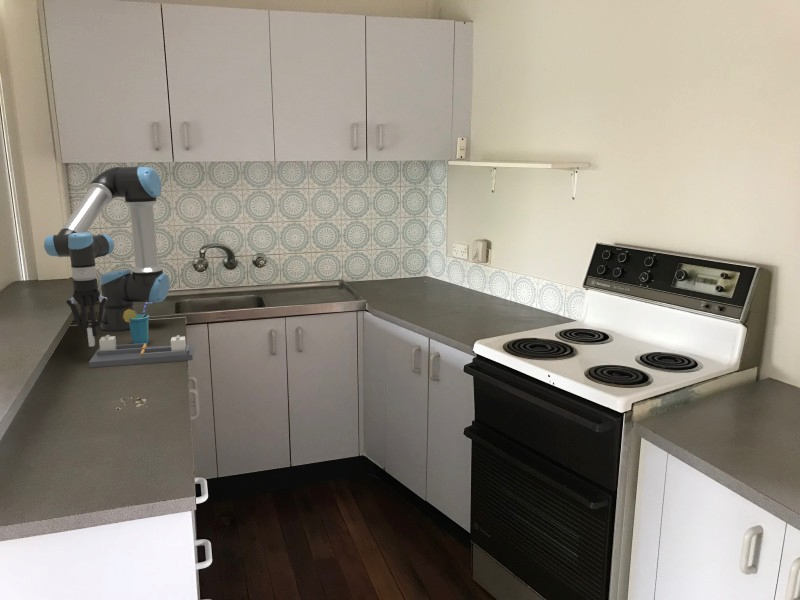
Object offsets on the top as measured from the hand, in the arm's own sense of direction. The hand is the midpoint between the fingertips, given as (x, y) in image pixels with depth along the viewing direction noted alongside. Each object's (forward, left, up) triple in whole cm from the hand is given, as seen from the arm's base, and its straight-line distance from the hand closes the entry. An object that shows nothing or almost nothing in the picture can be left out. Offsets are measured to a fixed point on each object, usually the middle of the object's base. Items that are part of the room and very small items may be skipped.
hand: (92, 345), depth 233 cm
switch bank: (+4, +17, -5) cm, 18 cm away
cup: (-16, +14, -5) cm, 22 cm away
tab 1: (0, +5, -3) cm, 6 cm away
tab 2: (+7, +29, -3) cm, 30 cm away
